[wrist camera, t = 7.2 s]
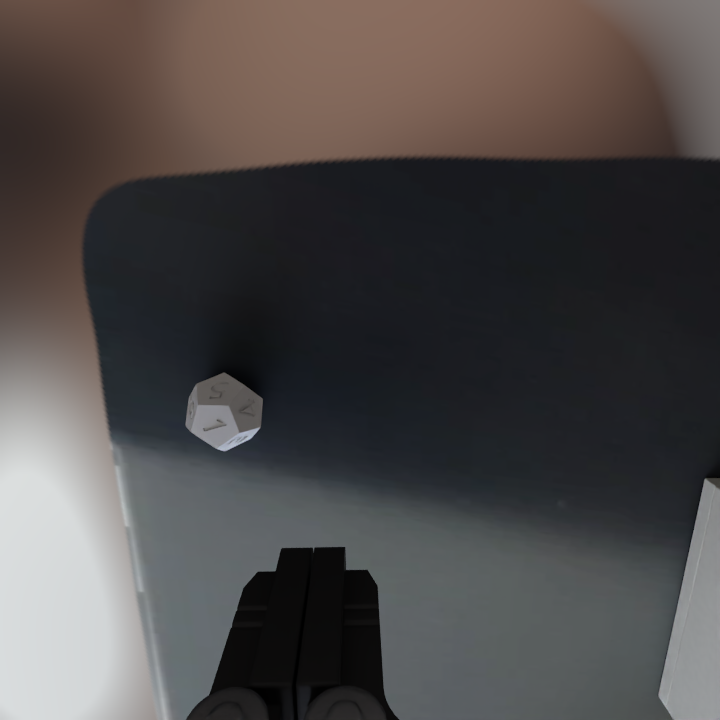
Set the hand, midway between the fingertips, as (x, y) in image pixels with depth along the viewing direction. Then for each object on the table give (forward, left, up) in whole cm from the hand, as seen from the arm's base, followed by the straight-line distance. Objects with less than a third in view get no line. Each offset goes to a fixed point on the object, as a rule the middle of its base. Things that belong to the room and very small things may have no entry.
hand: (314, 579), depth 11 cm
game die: (-2, -5, -13) cm, 14 cm away
